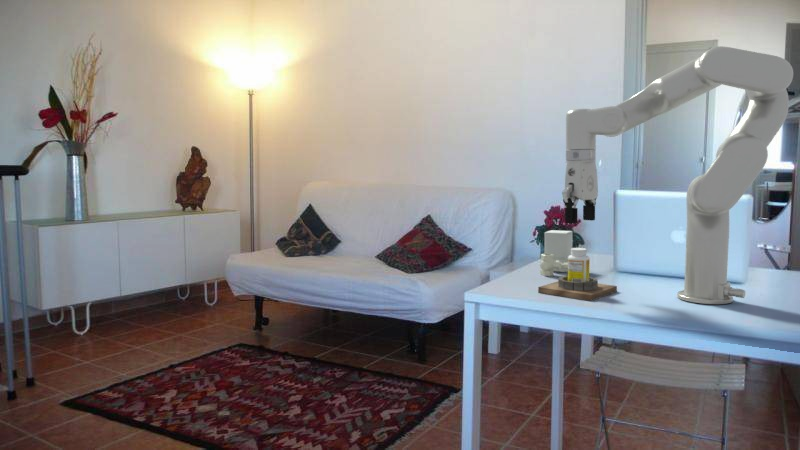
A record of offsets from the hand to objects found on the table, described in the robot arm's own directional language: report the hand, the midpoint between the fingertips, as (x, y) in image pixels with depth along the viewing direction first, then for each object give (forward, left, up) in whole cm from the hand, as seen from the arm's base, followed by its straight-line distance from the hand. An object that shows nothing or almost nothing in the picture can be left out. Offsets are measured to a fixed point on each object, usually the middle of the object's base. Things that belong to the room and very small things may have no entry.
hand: (580, 221), depth 162 cm
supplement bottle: (0, 0, -18) cm, 18 cm away
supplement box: (+21, -27, -19) cm, 39 cm away
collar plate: (0, 0, -19) cm, 19 cm away
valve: (+16, -18, -19) cm, 31 cm away
